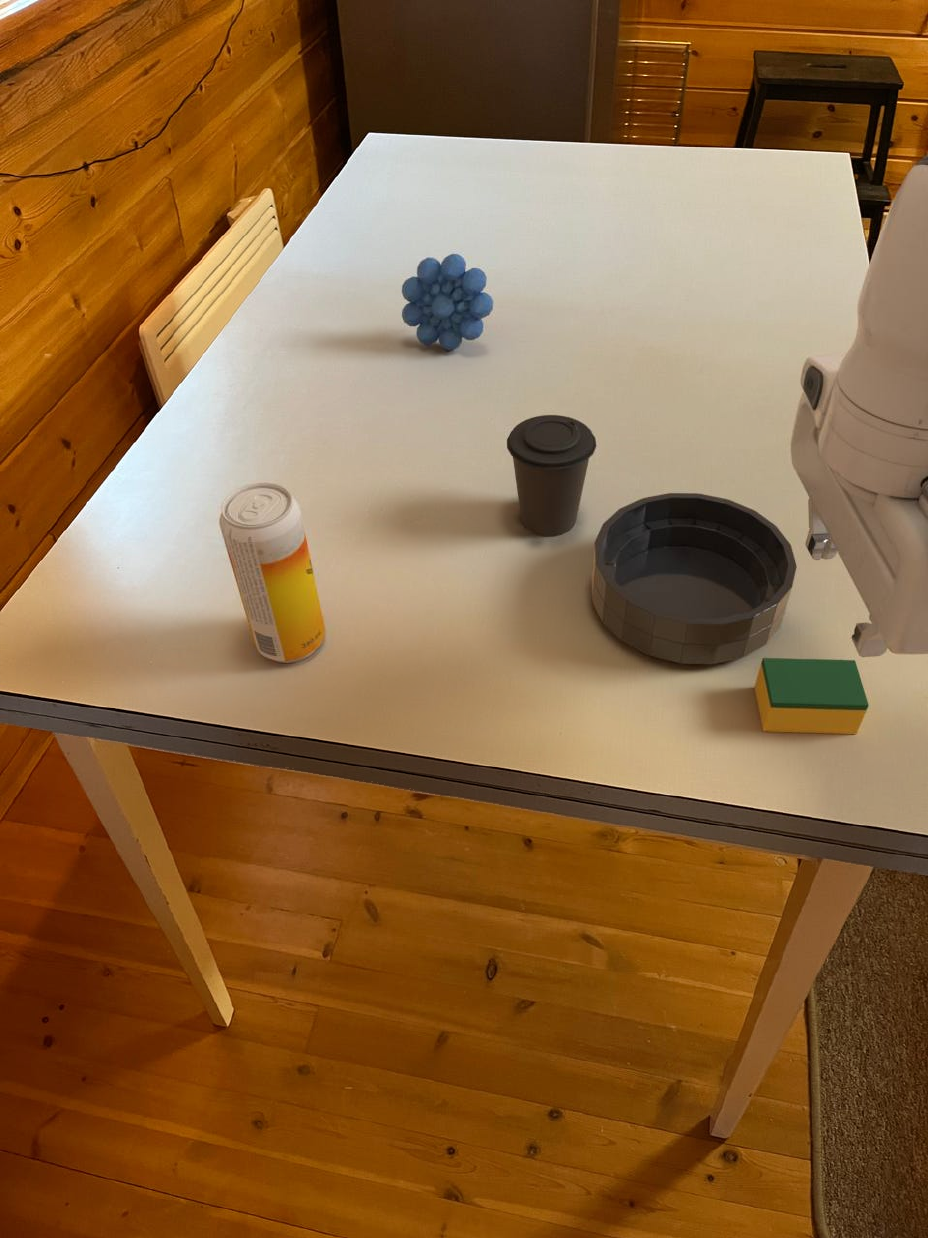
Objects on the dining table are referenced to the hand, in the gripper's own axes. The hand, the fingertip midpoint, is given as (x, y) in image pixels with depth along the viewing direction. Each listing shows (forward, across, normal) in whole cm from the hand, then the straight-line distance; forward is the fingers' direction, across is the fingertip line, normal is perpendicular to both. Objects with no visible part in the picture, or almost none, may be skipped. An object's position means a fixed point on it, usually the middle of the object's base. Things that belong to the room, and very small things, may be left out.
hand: (841, 598), depth 64 cm
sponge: (+12, 0, 0) cm, 12 cm away
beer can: (+12, +11, +41) cm, 44 cm away
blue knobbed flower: (+12, +59, +24) cm, 65 cm away
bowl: (+12, +13, +6) cm, 19 cm away
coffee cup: (+12, +25, +17) cm, 33 cm away
